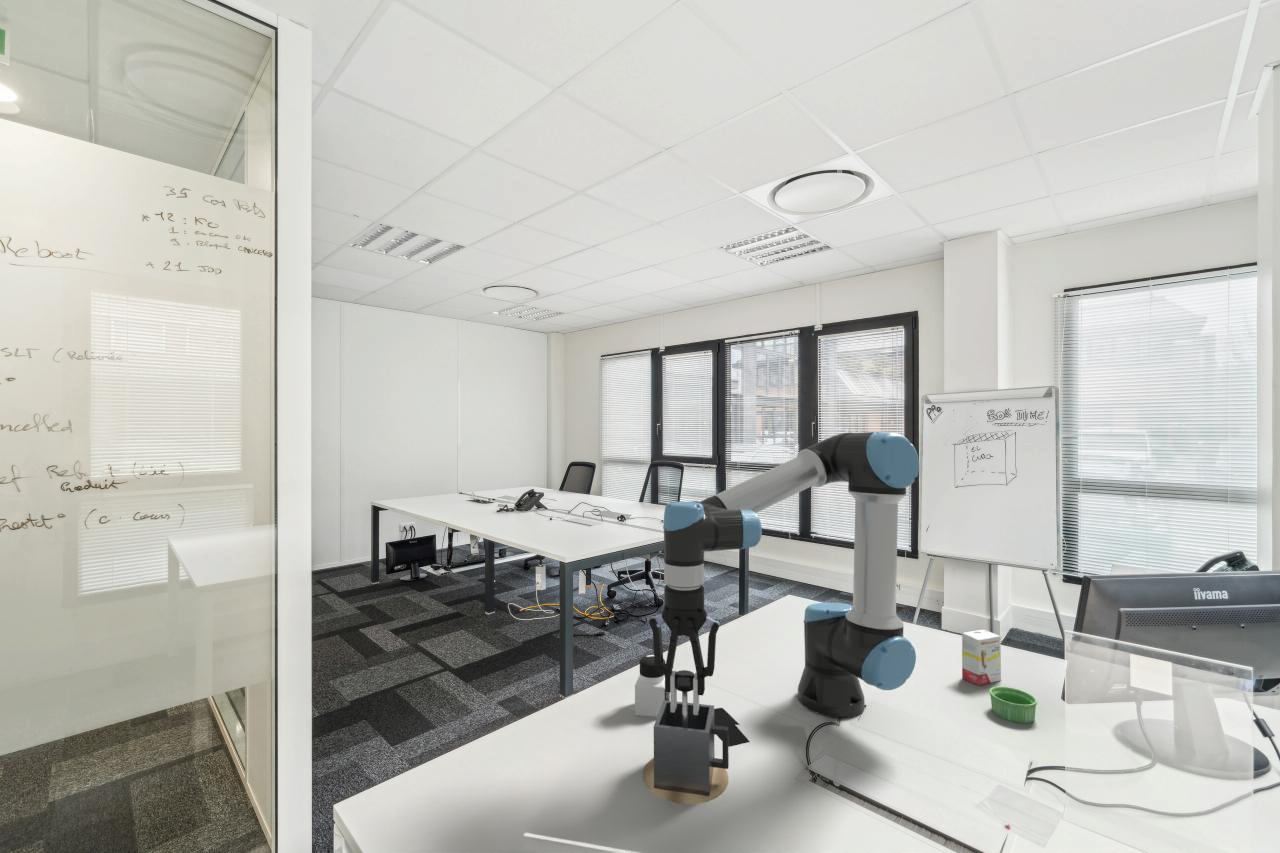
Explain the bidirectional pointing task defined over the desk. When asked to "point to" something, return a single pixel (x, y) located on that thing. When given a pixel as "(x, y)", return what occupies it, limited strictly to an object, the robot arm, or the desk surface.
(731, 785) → the desk surface
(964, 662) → the ink box
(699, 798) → the coaster
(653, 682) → the medicine bottle
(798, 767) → the desk surface
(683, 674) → the plunger
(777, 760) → the desk surface
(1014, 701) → the ramekin
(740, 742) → the smartphone
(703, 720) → the press body
